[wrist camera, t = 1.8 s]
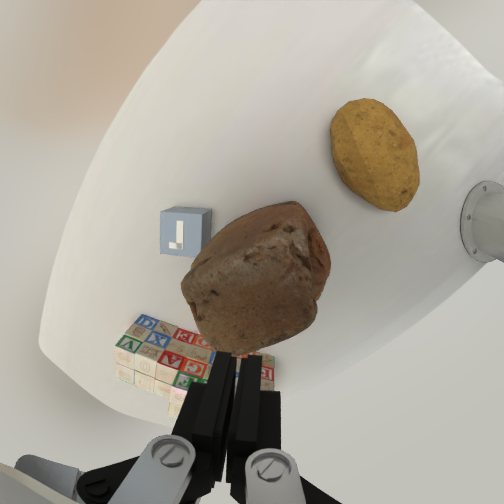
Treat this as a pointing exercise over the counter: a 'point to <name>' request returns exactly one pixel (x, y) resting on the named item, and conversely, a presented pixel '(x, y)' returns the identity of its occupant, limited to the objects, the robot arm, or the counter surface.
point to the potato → (375, 154)
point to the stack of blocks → (171, 360)
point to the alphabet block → (184, 230)
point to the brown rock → (258, 279)
